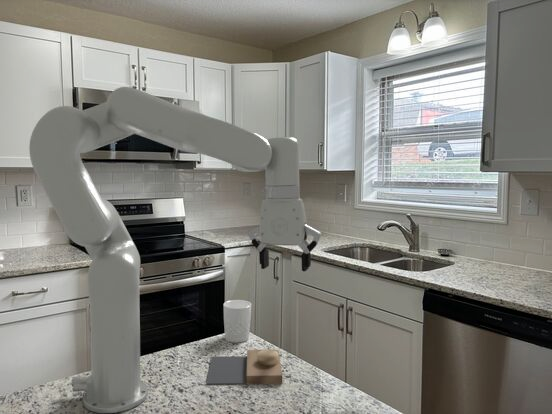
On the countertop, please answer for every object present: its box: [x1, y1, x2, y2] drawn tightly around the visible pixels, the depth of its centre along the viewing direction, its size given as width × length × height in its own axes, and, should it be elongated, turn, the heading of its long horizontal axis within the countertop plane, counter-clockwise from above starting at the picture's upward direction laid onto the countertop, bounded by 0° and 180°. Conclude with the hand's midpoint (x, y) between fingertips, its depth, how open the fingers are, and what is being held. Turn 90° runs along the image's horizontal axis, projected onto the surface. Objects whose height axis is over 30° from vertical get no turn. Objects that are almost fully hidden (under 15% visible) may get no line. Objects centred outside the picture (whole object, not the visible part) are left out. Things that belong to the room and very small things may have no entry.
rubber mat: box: [205, 355, 248, 386], centre depth 103 cm, size 9×14×1 cm, turn 3°
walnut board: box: [246, 349, 283, 385], centre depth 103 cm, size 8×14×2 cm, turn 3°
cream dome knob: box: [257, 349, 278, 366], centre depth 103 cm, size 5×5×2 cm
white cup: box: [223, 299, 252, 344], centre depth 122 cm, size 8×8×10 cm
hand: (284, 268), depth 98 cm, fingers open, 9 cm apart
